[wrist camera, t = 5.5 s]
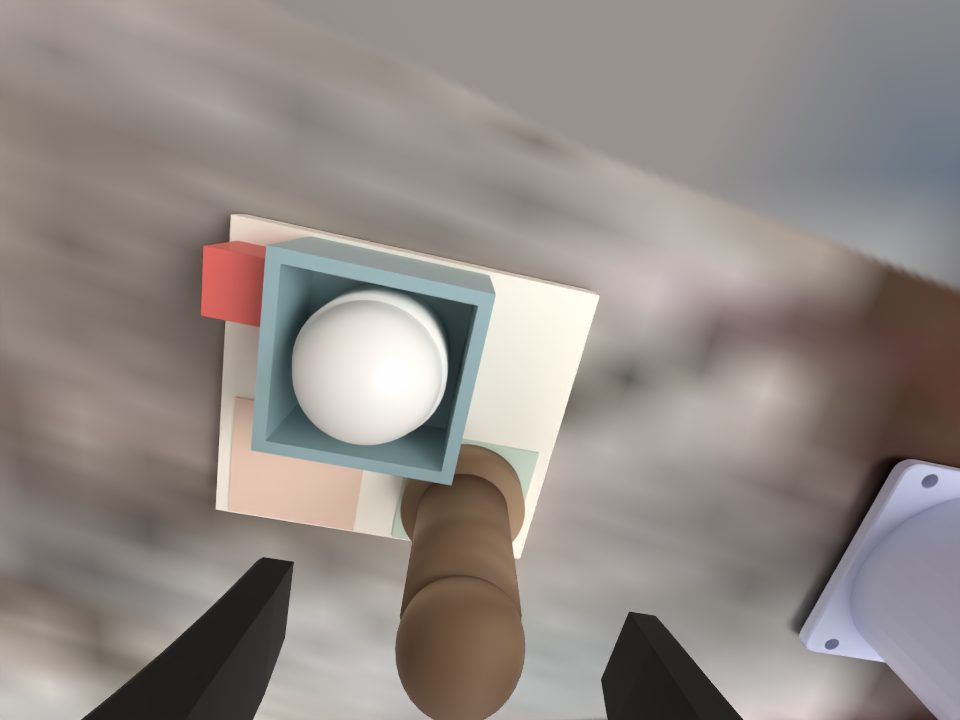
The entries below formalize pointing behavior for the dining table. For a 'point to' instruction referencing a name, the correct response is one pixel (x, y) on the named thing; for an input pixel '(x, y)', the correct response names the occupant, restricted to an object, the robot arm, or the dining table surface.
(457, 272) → the dome housing
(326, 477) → the game board
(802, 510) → the dining table surface
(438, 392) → the dome
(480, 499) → the pawn
